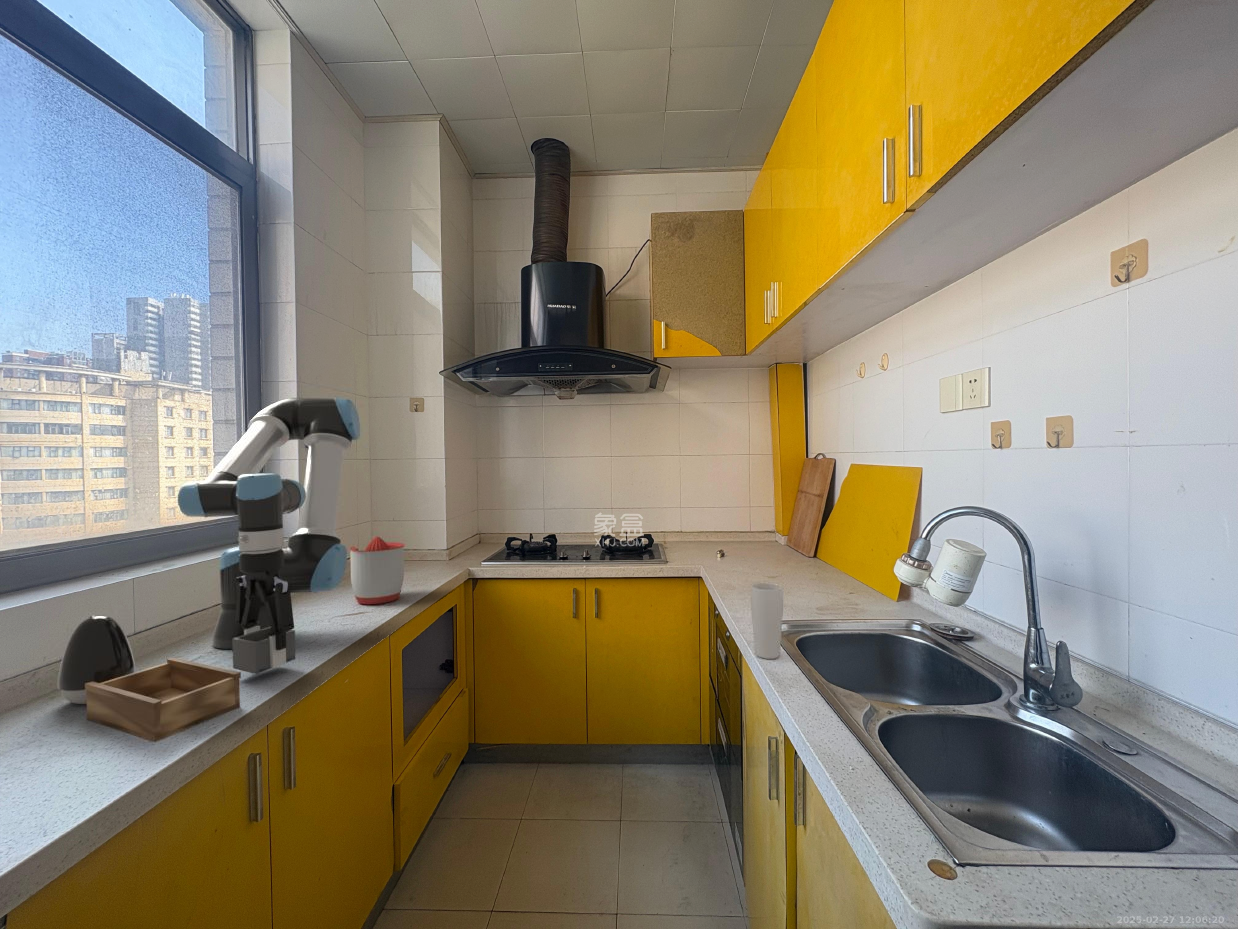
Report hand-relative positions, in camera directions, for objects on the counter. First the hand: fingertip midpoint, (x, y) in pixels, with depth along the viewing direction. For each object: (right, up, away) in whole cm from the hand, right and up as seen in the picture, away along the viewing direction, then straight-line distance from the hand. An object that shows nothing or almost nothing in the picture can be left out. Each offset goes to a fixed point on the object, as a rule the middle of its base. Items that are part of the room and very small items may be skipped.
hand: (265, 661), depth 108 cm
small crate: (0, 0, 0) cm, 0 cm away
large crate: (-6, -3, -16) cm, 18 cm away
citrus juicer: (-4, -2, +57) cm, 57 cm away
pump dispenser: (-24, -3, -10) cm, 26 cm away
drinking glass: (+104, -1, +7) cm, 104 cm away
